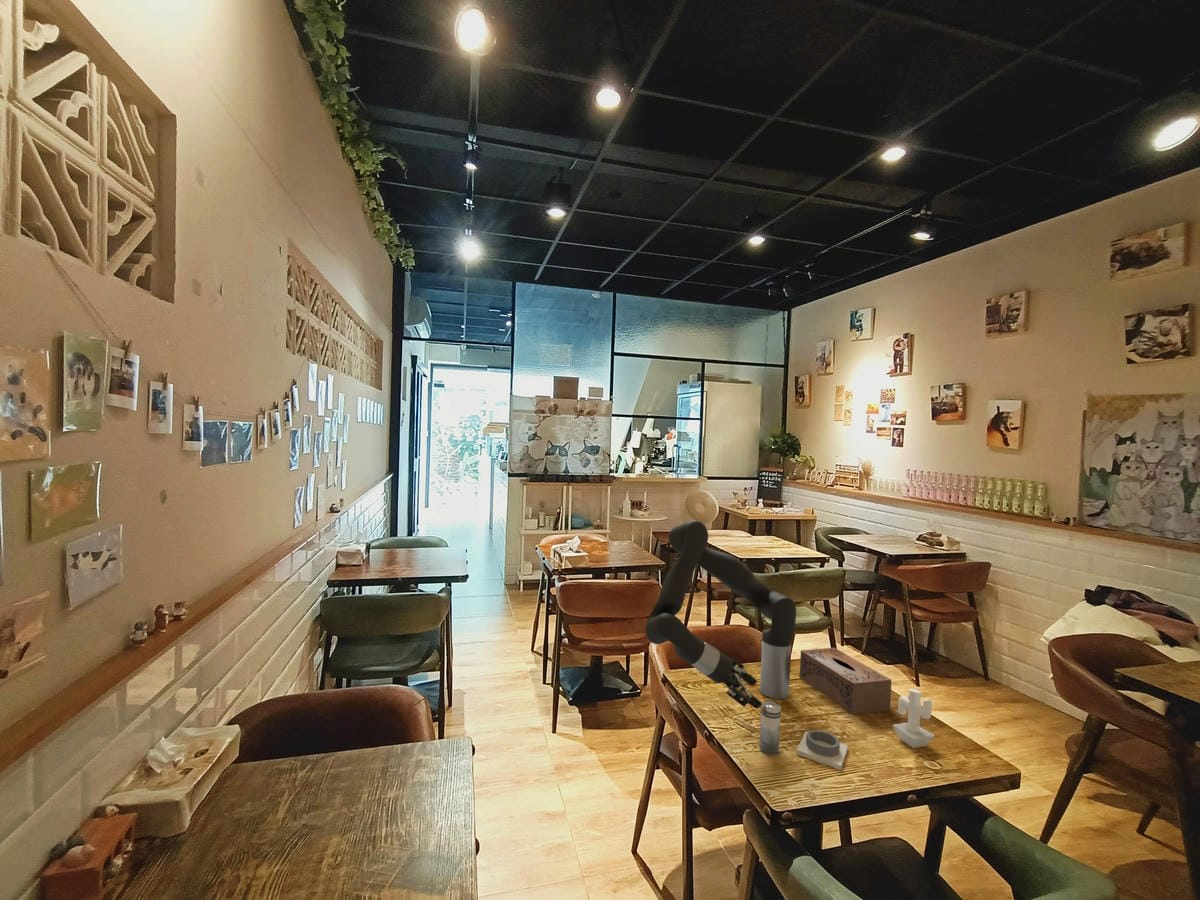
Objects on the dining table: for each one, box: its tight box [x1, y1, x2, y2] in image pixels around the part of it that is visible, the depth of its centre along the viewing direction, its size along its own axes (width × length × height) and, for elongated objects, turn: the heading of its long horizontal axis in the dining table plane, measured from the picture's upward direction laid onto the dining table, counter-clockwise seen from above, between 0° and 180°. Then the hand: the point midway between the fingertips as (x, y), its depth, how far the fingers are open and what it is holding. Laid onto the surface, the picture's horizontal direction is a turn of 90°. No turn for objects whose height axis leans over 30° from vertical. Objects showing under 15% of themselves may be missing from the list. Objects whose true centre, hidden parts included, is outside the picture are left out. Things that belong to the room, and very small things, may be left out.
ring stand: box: [795, 729, 849, 771], centre depth 140 cm, size 11×11×4 cm
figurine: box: [892, 688, 935, 749], centre depth 146 cm, size 7×9×15 cm
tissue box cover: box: [799, 647, 892, 716], centre depth 174 cm, size 26×14×10 cm, turn 15°
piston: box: [759, 700, 782, 756], centre depth 140 cm, size 5×5×12 cm
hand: (757, 694), depth 143 cm, fingers open, 8 cm apart
